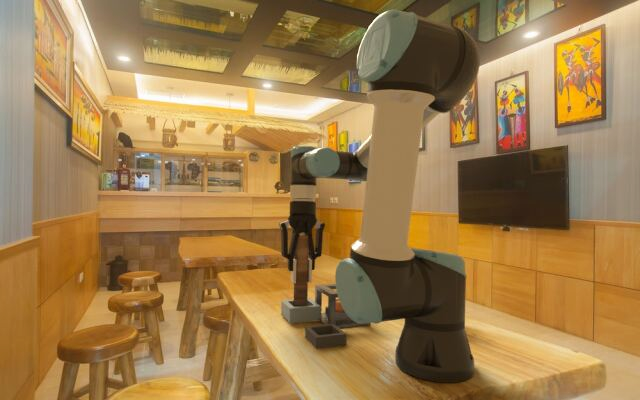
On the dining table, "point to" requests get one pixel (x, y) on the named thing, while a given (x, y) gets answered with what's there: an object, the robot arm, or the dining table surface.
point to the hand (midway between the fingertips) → (301, 281)
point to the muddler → (301, 271)
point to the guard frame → (333, 308)
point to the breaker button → (338, 306)
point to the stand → (325, 336)
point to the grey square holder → (300, 311)
